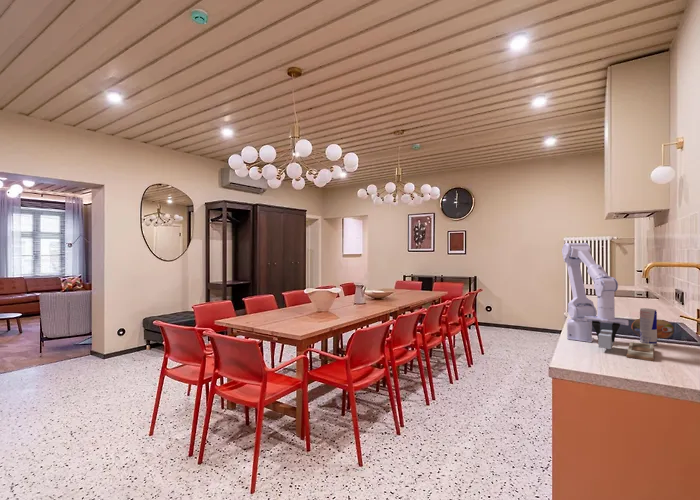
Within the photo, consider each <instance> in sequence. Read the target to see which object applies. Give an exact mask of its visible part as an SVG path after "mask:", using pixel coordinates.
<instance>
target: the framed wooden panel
mask: <svg viewBox="0 0 700 500" xmlns="http://www.w3.org/2000/svg"><path fill="white" fill-rule="evenodd" d="M626 358H629V359H634V360H635V359H636V360H640V361H641V360H642V361H648V362H655V347H654V345H652V344H644V343H641V342H635V341H629V345H628V348H627V352H626Z"/></svg>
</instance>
